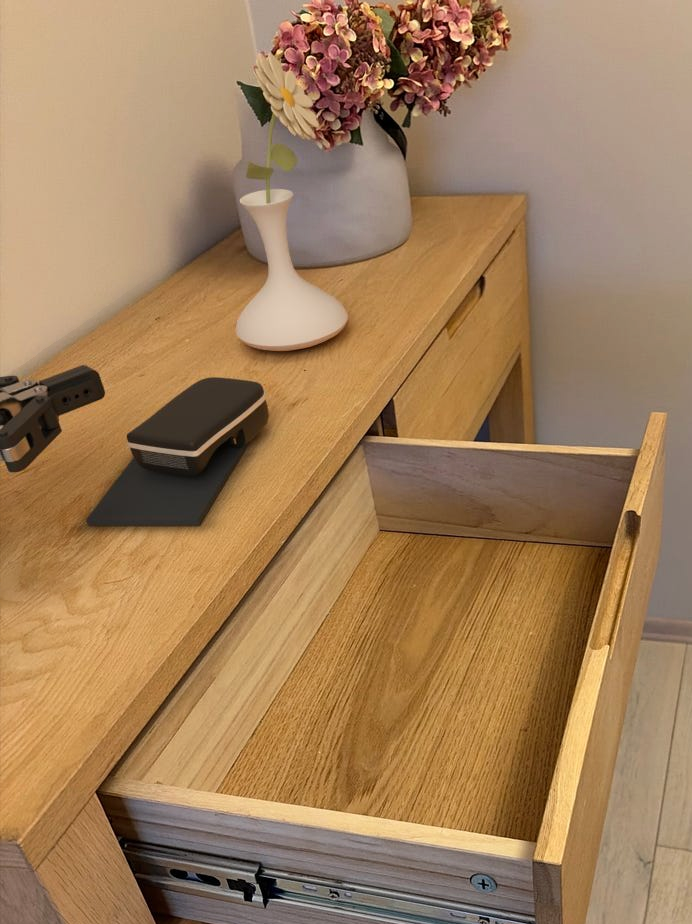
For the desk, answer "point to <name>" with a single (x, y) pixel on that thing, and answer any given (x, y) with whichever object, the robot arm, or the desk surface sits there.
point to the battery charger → (199, 425)
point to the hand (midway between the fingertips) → (96, 380)
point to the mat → (165, 494)
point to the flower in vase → (284, 235)
